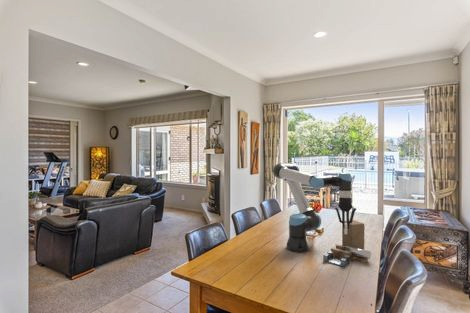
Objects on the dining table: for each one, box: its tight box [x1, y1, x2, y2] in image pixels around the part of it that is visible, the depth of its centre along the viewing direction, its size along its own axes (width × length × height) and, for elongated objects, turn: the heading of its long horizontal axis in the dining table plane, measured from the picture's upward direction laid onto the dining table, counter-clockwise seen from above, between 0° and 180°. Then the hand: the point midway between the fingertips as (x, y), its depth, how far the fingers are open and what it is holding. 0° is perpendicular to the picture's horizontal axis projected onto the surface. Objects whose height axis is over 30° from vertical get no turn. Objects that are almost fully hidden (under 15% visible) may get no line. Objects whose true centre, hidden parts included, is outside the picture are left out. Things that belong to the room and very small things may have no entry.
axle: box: [345, 246, 372, 261], centre depth 166 cm, size 14×5×5 cm, turn 49°
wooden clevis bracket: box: [330, 244, 369, 264], centre depth 168 cm, size 20×11×5 cm, turn 49°
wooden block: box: [341, 219, 365, 250], centre depth 179 cm, size 10×10×20 cm
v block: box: [322, 250, 351, 268], centre depth 162 cm, size 13×9×4 cm
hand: (345, 233), depth 169 cm, fingers closed
